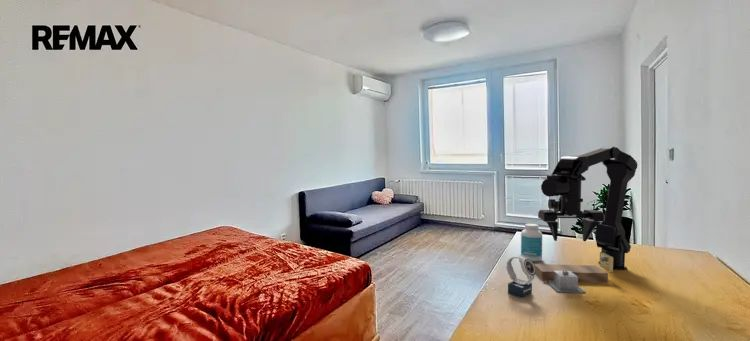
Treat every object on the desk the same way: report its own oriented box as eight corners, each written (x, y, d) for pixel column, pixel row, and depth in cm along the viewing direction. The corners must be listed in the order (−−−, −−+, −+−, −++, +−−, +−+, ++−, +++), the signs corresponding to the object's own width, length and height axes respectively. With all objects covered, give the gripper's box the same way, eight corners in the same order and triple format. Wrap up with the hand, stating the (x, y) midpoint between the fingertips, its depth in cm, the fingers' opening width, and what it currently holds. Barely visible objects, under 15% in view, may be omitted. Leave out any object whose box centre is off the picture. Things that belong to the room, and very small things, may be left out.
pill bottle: (545, 262, 126) (546, 226, 125) (525, 262, 126) (526, 227, 125) (536, 256, 133) (537, 222, 132) (517, 256, 133) (518, 222, 132)
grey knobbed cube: (569, 283, 105) (570, 269, 105) (577, 290, 100) (578, 275, 100) (553, 282, 106) (553, 268, 105) (560, 289, 101) (560, 274, 101)
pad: (572, 282, 107) (572, 281, 106) (585, 293, 99) (585, 292, 99) (546, 281, 107) (546, 280, 107) (557, 292, 99) (557, 291, 99)
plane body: (595, 274, 113) (596, 265, 113) (607, 282, 106) (608, 273, 106) (534, 272, 115) (534, 264, 115) (541, 280, 108) (542, 271, 108)
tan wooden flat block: (603, 266, 112) (604, 252, 112) (612, 271, 107) (613, 257, 107) (597, 266, 112) (597, 252, 112) (606, 271, 107) (606, 257, 107)
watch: (528, 300, 94) (529, 262, 94) (502, 291, 101) (503, 255, 100) (538, 295, 98) (539, 258, 97) (512, 286, 104) (513, 251, 103)
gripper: (587, 191, 118) (586, 235, 119) (532, 191, 119) (531, 234, 121) (606, 195, 107) (604, 243, 108) (545, 195, 108) (544, 243, 109)
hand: (569, 240), depth 112 cm, fingers open, 9 cm apart
